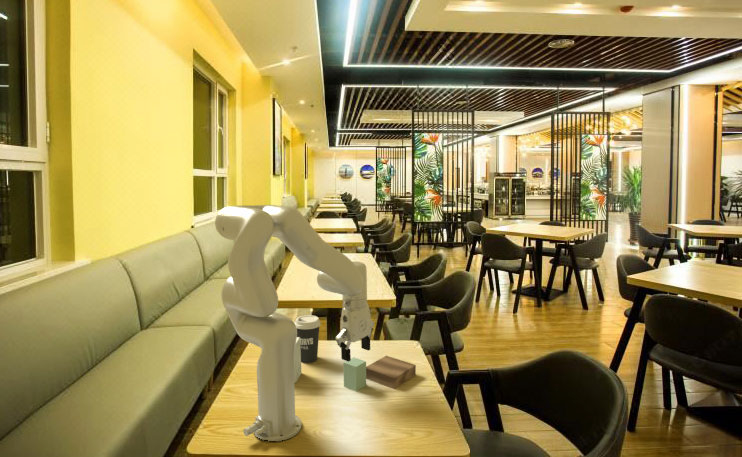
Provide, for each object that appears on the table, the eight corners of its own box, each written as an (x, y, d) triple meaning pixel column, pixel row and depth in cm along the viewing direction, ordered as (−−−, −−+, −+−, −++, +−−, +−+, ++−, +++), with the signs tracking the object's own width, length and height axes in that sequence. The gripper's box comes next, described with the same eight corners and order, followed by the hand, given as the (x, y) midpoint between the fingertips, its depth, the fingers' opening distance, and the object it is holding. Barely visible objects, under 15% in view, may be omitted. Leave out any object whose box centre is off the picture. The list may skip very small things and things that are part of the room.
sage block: (356, 391, 147) (355, 366, 146) (343, 386, 150) (343, 362, 149) (366, 385, 151) (366, 361, 150) (354, 380, 154) (353, 357, 153)
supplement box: (302, 372, 160) (301, 336, 158) (296, 383, 152) (295, 345, 150) (280, 371, 160) (279, 336, 158) (273, 382, 153) (272, 344, 151)
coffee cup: (292, 355, 173) (291, 315, 171) (318, 352, 176) (317, 313, 174) (296, 366, 164) (295, 324, 162) (324, 362, 167) (323, 321, 165)
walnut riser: (394, 390, 149) (394, 378, 148) (364, 379, 156) (364, 367, 155) (415, 376, 158) (415, 364, 157) (386, 366, 165) (386, 355, 165)
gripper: (345, 312, 138) (347, 368, 140) (381, 297, 151) (382, 348, 154) (326, 307, 142) (328, 361, 145) (363, 293, 155) (364, 342, 158)
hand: (356, 354), depth 149 cm, fingers open, 9 cm apart
